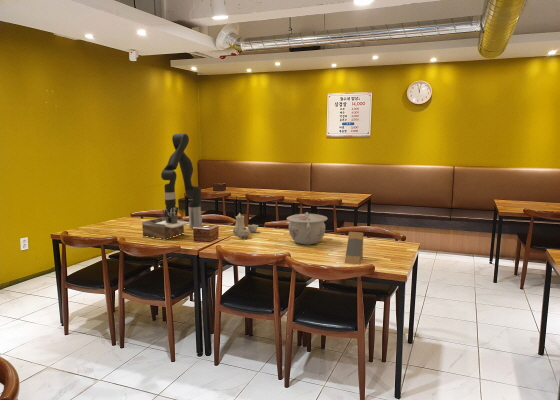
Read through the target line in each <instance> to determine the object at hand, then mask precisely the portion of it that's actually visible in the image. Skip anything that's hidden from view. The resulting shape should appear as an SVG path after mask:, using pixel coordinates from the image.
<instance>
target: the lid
mask: <svg viewBox="0 0 560 400" xmlns="http://www.w3.org/2000/svg"><path fill="white" fill-rule="evenodd" d="M165 218H166V221H162V222H158V223H157V224H165V227H170V228H175V227H179V226H182V225H184V226H185V225H189V224H190V222H189V221H184V220H183V221H177V219H178V215H176V216H172V215H171V217H170V218H171V223H169V222H168V218H167V217H165Z"/></svg>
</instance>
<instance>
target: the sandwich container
mask: <svg viewBox="0 0 560 400" xmlns="http://www.w3.org/2000/svg"><path fill="white" fill-rule="evenodd" d="M346 245H347V246H346V251H345V258H344V264H349V265H360V264H361V262H362V260H363V258H364V257H363V256H364V232H359V231H348V238H347V244H346Z"/></svg>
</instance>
